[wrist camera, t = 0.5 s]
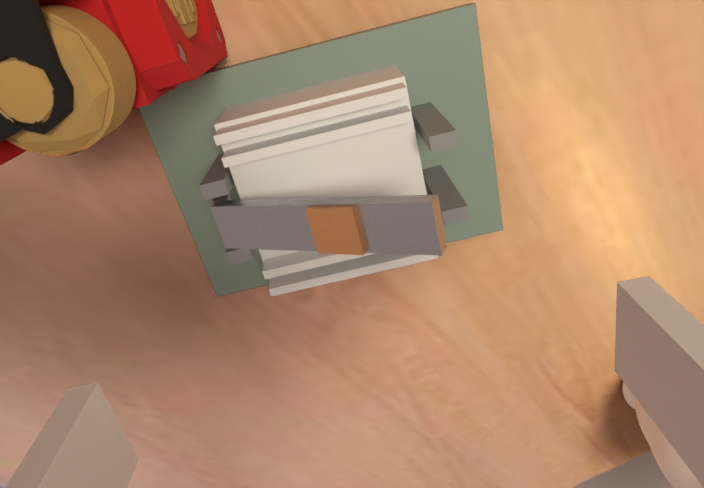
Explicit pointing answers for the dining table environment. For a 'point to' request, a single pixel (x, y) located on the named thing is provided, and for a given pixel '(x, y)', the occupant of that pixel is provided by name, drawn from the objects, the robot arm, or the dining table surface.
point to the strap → (333, 224)
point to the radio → (94, 66)
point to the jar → (662, 448)
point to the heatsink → (334, 141)
